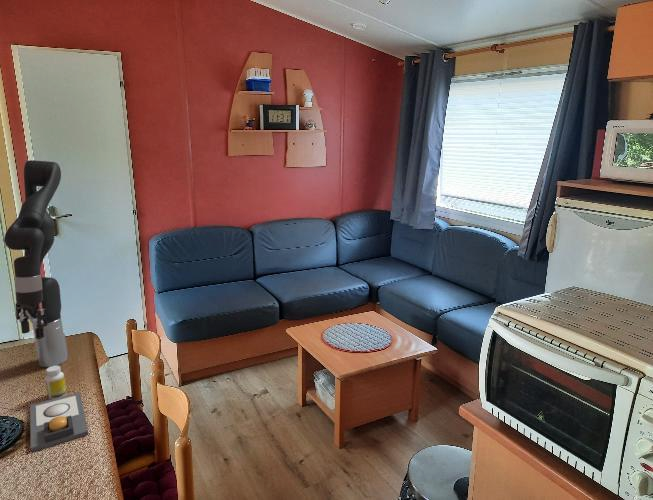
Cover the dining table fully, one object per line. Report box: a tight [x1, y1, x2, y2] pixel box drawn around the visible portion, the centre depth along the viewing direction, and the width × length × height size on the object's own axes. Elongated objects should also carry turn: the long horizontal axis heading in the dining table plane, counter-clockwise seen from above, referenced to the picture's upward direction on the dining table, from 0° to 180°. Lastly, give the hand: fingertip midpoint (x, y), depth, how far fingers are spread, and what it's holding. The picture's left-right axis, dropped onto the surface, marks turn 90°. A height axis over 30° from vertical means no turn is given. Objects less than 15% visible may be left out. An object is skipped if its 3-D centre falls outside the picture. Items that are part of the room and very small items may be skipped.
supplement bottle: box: [44, 365, 67, 400], centre depth 152 cm, size 5×5×10 cm
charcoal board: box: [29, 391, 89, 453], centre depth 139 cm, size 24×14×3 cm, turn 32°
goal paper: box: [36, 396, 79, 427], centre depth 142 cm, size 12×11×1 cm
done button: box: [49, 416, 67, 432], centre depth 132 cm, size 4×4×2 cm
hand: (32, 335), depth 154 cm, fingers open, 8 cm apart
